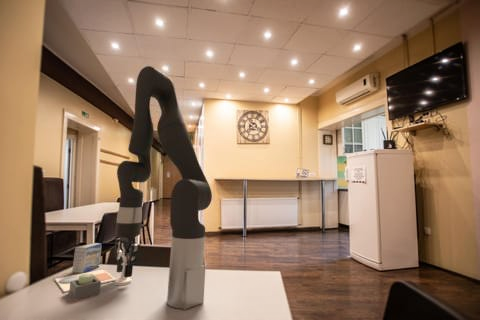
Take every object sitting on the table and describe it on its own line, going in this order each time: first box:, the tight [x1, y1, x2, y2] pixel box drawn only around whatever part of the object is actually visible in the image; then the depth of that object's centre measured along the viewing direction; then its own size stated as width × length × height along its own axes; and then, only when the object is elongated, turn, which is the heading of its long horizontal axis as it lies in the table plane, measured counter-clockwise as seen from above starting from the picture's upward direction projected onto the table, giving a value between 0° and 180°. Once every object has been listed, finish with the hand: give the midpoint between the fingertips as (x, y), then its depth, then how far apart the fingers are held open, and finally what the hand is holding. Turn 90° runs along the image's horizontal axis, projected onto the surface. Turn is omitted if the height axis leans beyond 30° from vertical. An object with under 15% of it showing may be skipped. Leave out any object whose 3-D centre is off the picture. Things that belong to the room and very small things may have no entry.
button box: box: [68, 276, 102, 301], centre depth 66 cm, size 6×6×3 cm
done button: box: [78, 274, 94, 285], centre depth 66 cm, size 4×4×2 cm
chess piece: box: [114, 257, 132, 286], centre depth 75 cm, size 5×5×10 cm
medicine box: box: [72, 242, 103, 274], centre depth 86 cm, size 8×4×9 cm, turn 171°
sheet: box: [54, 269, 117, 294], centre depth 75 cm, size 13×14×1 cm
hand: (123, 274), depth 75 cm, fingers open, 5 cm apart
